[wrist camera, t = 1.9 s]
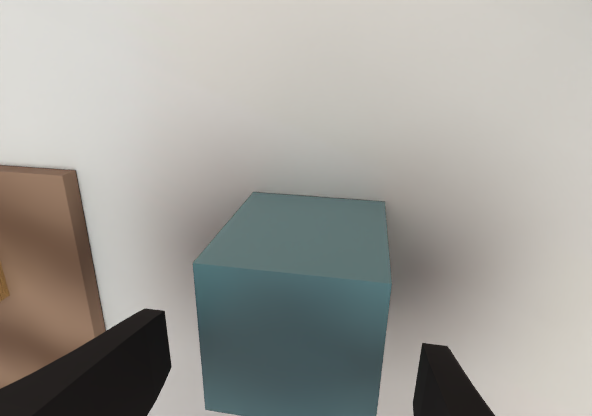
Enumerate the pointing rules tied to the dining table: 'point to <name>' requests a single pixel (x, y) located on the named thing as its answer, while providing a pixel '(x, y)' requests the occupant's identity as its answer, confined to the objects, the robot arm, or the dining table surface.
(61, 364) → the robot arm
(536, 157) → the dining table surface
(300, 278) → the teal foam cube
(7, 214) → the base board
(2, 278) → the tan wooden block
